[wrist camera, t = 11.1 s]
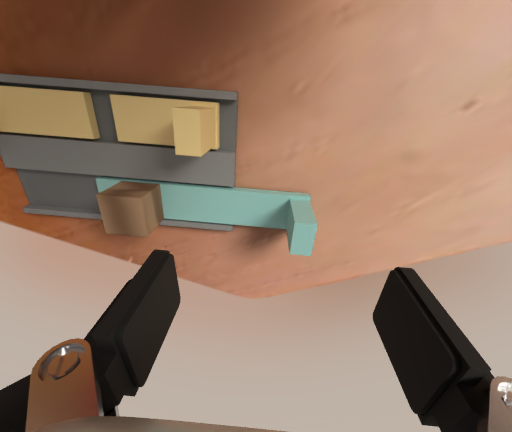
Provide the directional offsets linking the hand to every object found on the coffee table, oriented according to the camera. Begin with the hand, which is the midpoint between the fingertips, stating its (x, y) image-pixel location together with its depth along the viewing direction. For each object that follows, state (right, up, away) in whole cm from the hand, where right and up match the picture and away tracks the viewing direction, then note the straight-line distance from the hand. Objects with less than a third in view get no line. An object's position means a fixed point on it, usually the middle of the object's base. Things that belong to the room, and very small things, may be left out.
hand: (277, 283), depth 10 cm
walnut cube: (-16, +5, +21) cm, 27 cm away
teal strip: (-8, +5, +22) cm, 24 cm away
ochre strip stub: (-11, +14, +18) cm, 26 cm away
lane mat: (-19, +11, +20) cm, 29 cm away
